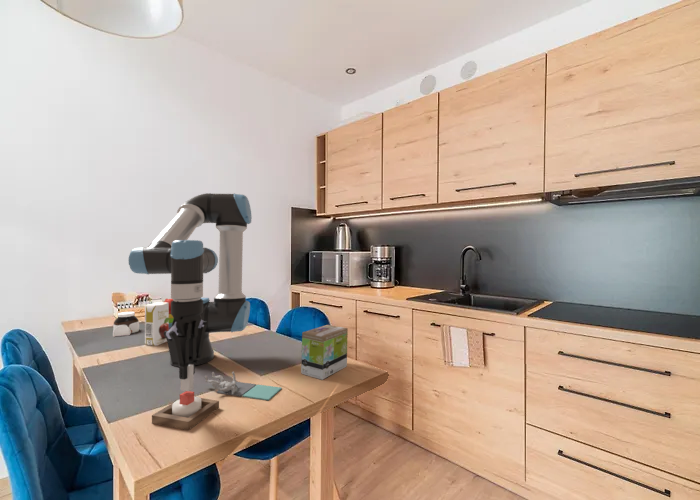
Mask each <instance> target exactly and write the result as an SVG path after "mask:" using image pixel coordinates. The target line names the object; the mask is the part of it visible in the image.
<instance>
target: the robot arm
mask: <svg viewBox="0 0 700 500" xmlns="http://www.w3.org/2000/svg"><path fill="white" fill-rule="evenodd" d="M252 217H253V216H252V209H251V205H250V200H249V199H248V196H247V195H245V194H240V193H239V194H237V193H211V192H210V193H206V192H205V193H202V194H198V195H196V196H193V197H192V198H189V199H188V200H187V201H185V202H183V203H182V204H181V205H180V206H179V207H178V208H177V211H176V214H175V216H174V217H173V219H172V220H170V222H169V223H168V224H167V225H166V226H165V227H164V228H163V229H162V230H161V231H160V233H159V234H158V235H157V236H155V238H154V240H153V241H152V242H151V243H150V244H149V245H148V246H147V247H144V246H142V247H135V248H133V249H132V250H131V251H130V253H129V255H128V265H129V268H130V271H132V272H133V273H134V274H142V275H145V274H146V275H163V274H166V275H167V274H168V275H169V274H170V275H171V276H170V299H173V301H172V302H171V315H172V316H173V322H172V327H171V329H170V330H169V331H164V336H165V338H166V339H167V342H166V343H167V346H168V352H169V355H170V356H169V364H170V365H171V366H174V367H179V369H178V370H179V371H178V372H179V373H178V374H179V377H178V378H179V380H180V391H183V392H185V391H193V390H194V389H195V388H194V375H195V373H196V372H195V371H196V370H195V369H196V368H195V367H196V366H198V365H203V364H206V363H209V362H210V361H212V360H213V359H214V358H215V357H214V356H215V352H214V349H213V346H212V343H211V340H210V333H235V332H236V333H237V332H243V331H244V330H245V329H246V327H247V325H248V322H249V317H250V311H251V303H250V301H249V300H247V299H246V298H247V297H246V295H245V294H244V292H243V290H242V289H243V288H242V287H243V245H244V244H243V242H244V240H243V239H244V236H243V235H244V232H245V231H246V230H247V229H248V225H249V224H251V223H252ZM203 224H215V228H216V229H217V230H218V231H219V246H218V247H219V251H218V252H219V253H218V255H219V256H218V255H217V253H216V252H215V251H214V250H213V249H210V248H208V247H204V242H203V241H202V240H195V239H194V240H193V239H192V240H191V239H190V240H189V238H190V237H191V236H192V234H193V232H194V231H195V230H196V228H199V227H201V226H202V225H203ZM217 266H218V292H217V294H216V295H215V296H214V297H213V301H210V298H209V297H204V274H208V273H211V272H212V271H214V270H215V268H216V267H217Z"/></svg>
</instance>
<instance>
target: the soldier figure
mask: <svg viewBox="0 0 700 500" xmlns="http://www.w3.org/2000/svg"><path fill="white" fill-rule="evenodd" d="M231 374H232V381H233V383H231V381H229V380H227V381H226V380H225V378H224V377H223V375H220V374H219V375H215V372H214V371H212V372H211V379H209V378H208V376H207V375H204V380H205V383H208V384H211V386H212V387H214V389H215V390H217V391H220V392H227V391H230V390H232V395H231V396H233V394H234V393H236V392H237V391H238V390H239V389H238V387H237V385H236V382H237V379H236V373H235V371H232V372H231ZM218 380H219V381H218Z"/></svg>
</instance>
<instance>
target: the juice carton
mask: <svg viewBox="0 0 700 500" xmlns="http://www.w3.org/2000/svg"><path fill="white" fill-rule="evenodd" d="M164 331H169V303H166V302H164V301H159V302H158V301H156V302H153V303H149V304H144V345H145V346H154V347H156V346H160V345H162V344H164V343H167V339H166V338H165V336H164Z"/></svg>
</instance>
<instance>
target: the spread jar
mask: <svg viewBox="0 0 700 500" xmlns="http://www.w3.org/2000/svg"><path fill="white" fill-rule="evenodd" d="M135 313H136V312H135V311H122V312H118V313H117V318H116V319H115V320H114V321H113V326H112V327H113V328H112V329H113V331H112V337H113V338H115V337H120V336H121V337H122V336H123V337H124V336H130V335H131V334H133V333H137V332H139V331H140V330H139V329H140V320H139V318H138V317H137V316H135Z"/></svg>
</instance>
